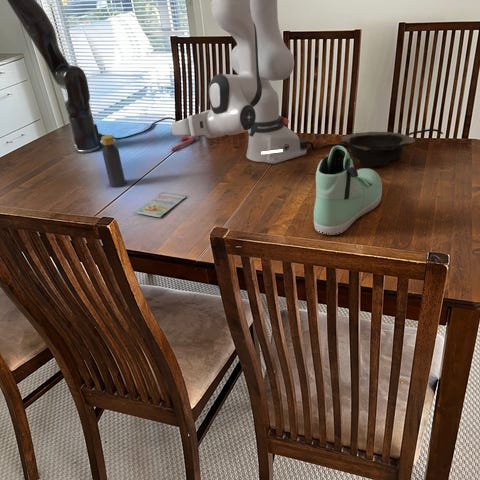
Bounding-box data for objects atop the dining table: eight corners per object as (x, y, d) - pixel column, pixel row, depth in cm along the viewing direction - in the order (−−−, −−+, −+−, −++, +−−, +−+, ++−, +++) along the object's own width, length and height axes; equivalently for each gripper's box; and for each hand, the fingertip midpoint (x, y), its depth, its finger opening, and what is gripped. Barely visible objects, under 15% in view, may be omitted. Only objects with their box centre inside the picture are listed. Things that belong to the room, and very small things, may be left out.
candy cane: (162, 149, 191) (161, 146, 190) (186, 137, 201) (185, 134, 201) (173, 152, 188) (172, 148, 187) (197, 139, 198) (197, 136, 197)
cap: (114, 143, 157) (113, 137, 156) (103, 145, 156) (101, 139, 155) (113, 140, 160) (112, 133, 159) (102, 142, 159) (100, 135, 158)
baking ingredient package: (135, 211, 145) (163, 192, 156) (135, 213, 145) (163, 193, 156) (159, 216, 141) (186, 195, 153) (159, 217, 141) (186, 197, 153)
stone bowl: (372, 178, 154) (373, 150, 150) (326, 159, 175) (325, 135, 170) (429, 159, 163) (431, 132, 159) (379, 144, 183) (379, 120, 179)
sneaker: (389, 187, 148) (396, 123, 138) (356, 242, 123) (361, 168, 112) (346, 181, 154) (350, 119, 144) (306, 232, 129) (307, 161, 118)
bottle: (126, 185, 164) (116, 138, 155) (110, 188, 163) (99, 141, 154) (124, 179, 168) (114, 134, 160) (109, 182, 167) (98, 136, 159)
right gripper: (233, 111, 159) (205, 117, 169) (187, 115, 145) (159, 121, 155) (236, 130, 161) (208, 135, 170) (190, 136, 147) (163, 141, 156)
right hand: (184, 128), depth 162 cm, fingers open, 8 cm apart
